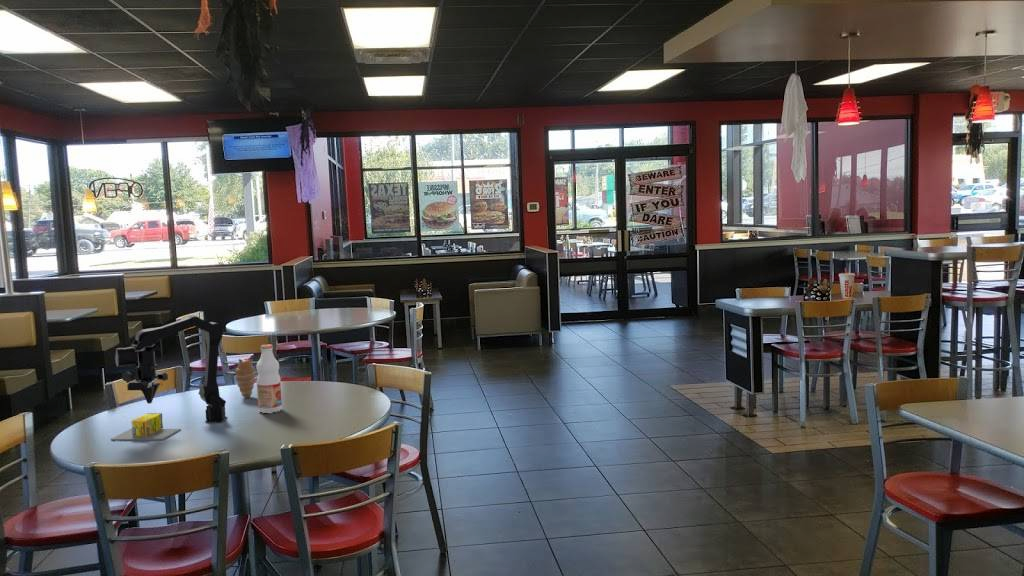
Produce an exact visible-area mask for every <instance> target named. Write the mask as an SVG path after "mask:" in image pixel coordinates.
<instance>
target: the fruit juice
mask: <svg viewBox="0 0 1024 576" xmlns="http://www.w3.org/2000/svg"><path fill="white" fill-rule="evenodd" d="M273 349H274V345H273V344H269V343H268V344H262V345H260V351H261V354H260V358H259V360H258V361H257V363H256V371H257V376H256V388H257V389H256V392H257V405H258V406H257V409H258V413H260V412H263V413H267V412H275V411H278V410H280V409H283V404H282V387H281V376H280V373H279V369H280V363H279V361H278V360H277V359H276V358H275V355H274V351H273ZM263 413H262V414H263Z"/></svg>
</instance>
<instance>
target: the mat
mask: <svg viewBox="0 0 1024 576" xmlns="http://www.w3.org/2000/svg"><path fill="white" fill-rule="evenodd" d="M178 431H179V432H180V431H182V430H181V428H162V429H160V430H158V431H156V432H154V433H152V434H150V435H148V436H133V434H132V428H130V429H128V430H125V431H124V432H122V433H120V434H118V435H116V436H114V437H112V438H110V441H111V440H131V441H132V442H133V441H136V442H137V441H142V442H143V441H147V442H148V441H149V442H150V441H154V442H155V441H158V442H159V441H162V442H163V441H165V440H166V439H168V438H170V437H172V436H174V435H175V434H177V433H178ZM173 434H174V435H173Z"/></svg>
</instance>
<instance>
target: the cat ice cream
mask: <svg viewBox="0 0 1024 576" xmlns="http://www.w3.org/2000/svg"><path fill="white" fill-rule="evenodd" d="M238 363H239V364H238V365H237V368H235V370H234V375H236V376H235V380H236V382H237V387H238V388H239V391H240V393H241V396H242V397H243V398H245V399H248V398H250V397H251V396H252V394H253V389H254V387H255V385H254V384H255V383H256V373H255V372H256V371H255V367H254V365H253V363H252V361H251V357H248V358H247V359H240V358H238Z"/></svg>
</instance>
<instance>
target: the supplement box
mask: <svg viewBox="0 0 1024 576" xmlns="http://www.w3.org/2000/svg"><path fill="white" fill-rule="evenodd" d="M131 427H132V428H131V429H132V434H133V436H148V435H150V434H152V433H154V432H156V431H158V430H160V429H164V425H163V413H162V412H160V413H157V412H156V413H155V412H154V413H152V412H148V413H146V414H143V415H141V416H139V417H137V418H135V419H132V420H131Z"/></svg>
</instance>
